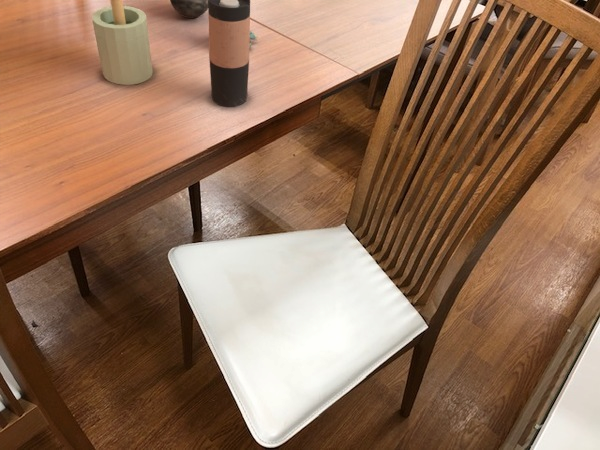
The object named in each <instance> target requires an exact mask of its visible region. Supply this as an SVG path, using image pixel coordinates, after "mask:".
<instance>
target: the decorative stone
mask: <svg viewBox="0 0 600 450" xmlns="http://www.w3.org/2000/svg"><path fill="white" fill-rule="evenodd" d="M169 2H170V5H171V6H172V7H173V9H174V10H175V12H176V13H177V14H178V15H180V16H182V17H185V18H187V19H196V18H199V17H202V16H203V15H204V14H205V13H206V12H208V0H169Z"/></svg>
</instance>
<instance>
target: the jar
mask: <svg viewBox="0 0 600 450" xmlns="http://www.w3.org/2000/svg"><path fill="white" fill-rule="evenodd" d="M123 7H124V14H125V20H126V25H114V19H113V13H112V7H111V5H110V6H105V7H101V8H99V9H97V10H96V11H94V12H93V13H92V14H91V22H92V27H93V31H94V37H95V42H96V47H97V51H98V52H97V53H98V56H99V61H100V66H101V72H102V75H103V77H104V79H105V80H107V81H108V82H110V83H113V84H116V85H123V86H130V85H131V86H132V85H137V84H141V83H144V82H147V81H148V80H149V79H150V78H151V77H152V75H153V73H154V71H153V62H152V54H151V46H150V38H149V37H150V36H149V29H148V20H147V14H146V13H145V12H144V11H143V10H142V9H139V8H137V7H134V6H128V5H123Z"/></svg>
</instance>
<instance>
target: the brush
mask: <svg viewBox="0 0 600 450" xmlns="http://www.w3.org/2000/svg"><path fill="white" fill-rule="evenodd" d="M109 1H110V6H111V7H112V13H113V19H114V25H126V20H125V14H124V7H123V6H124V1H123V0H109Z"/></svg>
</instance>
